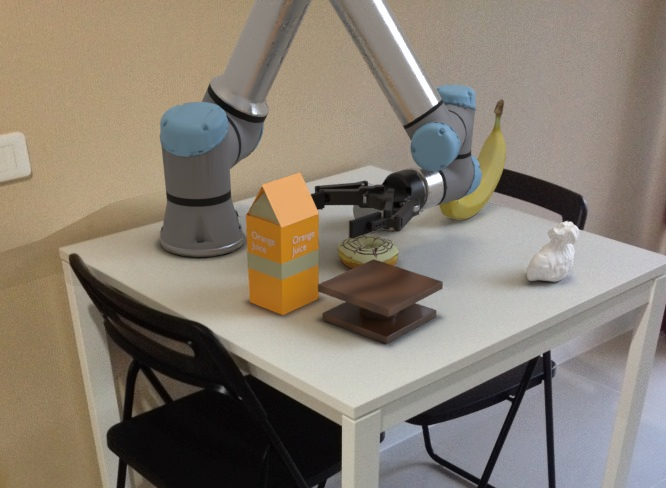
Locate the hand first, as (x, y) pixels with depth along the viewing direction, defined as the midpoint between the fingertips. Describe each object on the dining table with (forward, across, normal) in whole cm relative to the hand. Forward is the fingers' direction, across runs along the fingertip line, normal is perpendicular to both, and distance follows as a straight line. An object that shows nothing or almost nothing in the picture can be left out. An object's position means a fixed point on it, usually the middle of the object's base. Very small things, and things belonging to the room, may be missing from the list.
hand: (321, 218), depth 159 cm
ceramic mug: (-29, +15, -12) cm, 35 cm away
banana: (-47, +8, -12) cm, 49 cm away
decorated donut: (-14, +3, -12) cm, 18 cm away
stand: (+1, -15, -12) cm, 19 cm away
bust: (-33, -24, -12) cm, 42 cm away
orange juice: (+8, 0, -12) cm, 15 cm away
